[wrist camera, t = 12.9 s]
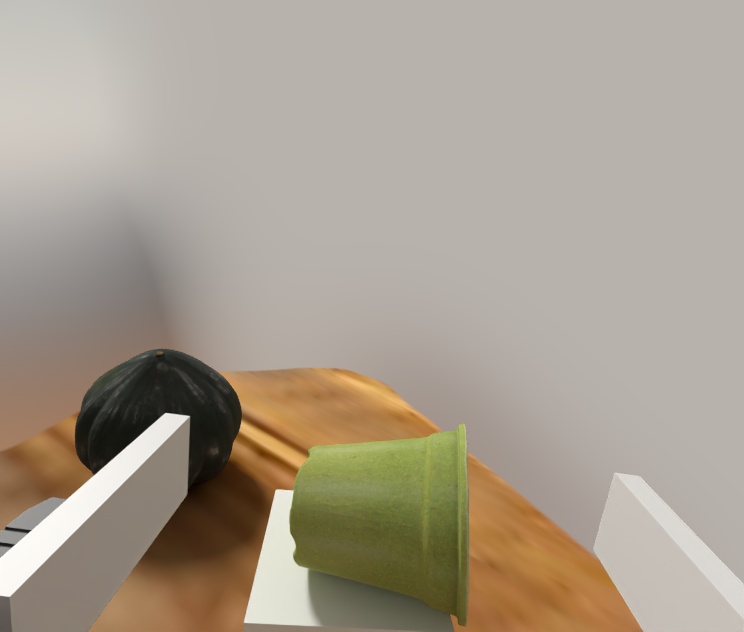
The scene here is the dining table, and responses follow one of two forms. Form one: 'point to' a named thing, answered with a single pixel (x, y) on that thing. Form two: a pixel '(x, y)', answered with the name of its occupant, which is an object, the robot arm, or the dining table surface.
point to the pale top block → (324, 593)
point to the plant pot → (389, 516)
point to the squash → (159, 410)
